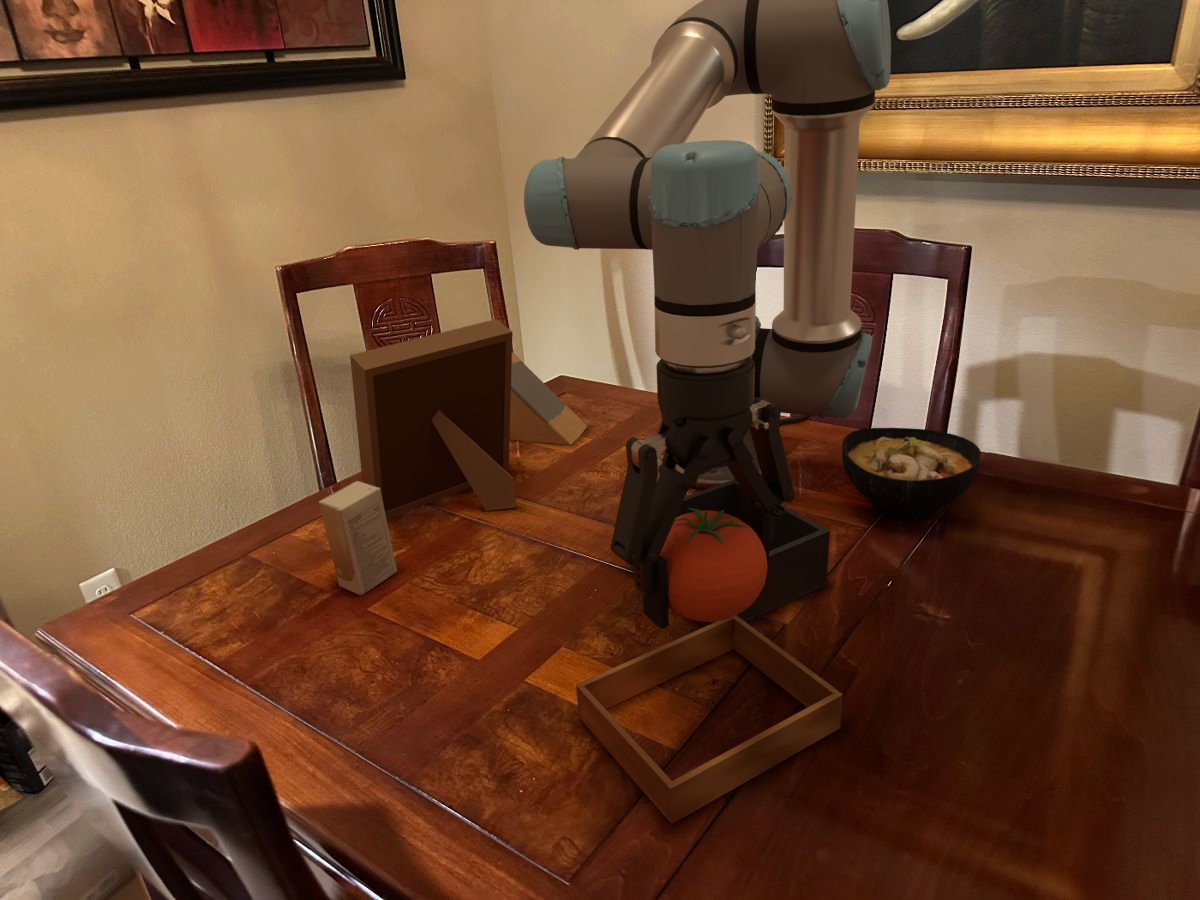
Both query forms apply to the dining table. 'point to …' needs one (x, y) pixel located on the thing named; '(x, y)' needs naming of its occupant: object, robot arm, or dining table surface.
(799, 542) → the black square bin
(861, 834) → the dining table surface
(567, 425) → the sandwich container
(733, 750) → the box
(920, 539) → the dining table surface
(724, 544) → the tomato
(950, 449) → the bowl
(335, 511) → the cosmetic box
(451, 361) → the photo frame
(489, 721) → the dining table surface
